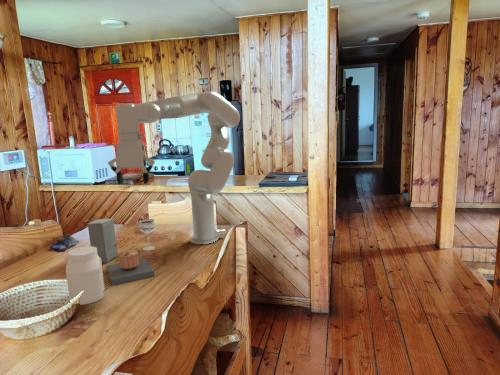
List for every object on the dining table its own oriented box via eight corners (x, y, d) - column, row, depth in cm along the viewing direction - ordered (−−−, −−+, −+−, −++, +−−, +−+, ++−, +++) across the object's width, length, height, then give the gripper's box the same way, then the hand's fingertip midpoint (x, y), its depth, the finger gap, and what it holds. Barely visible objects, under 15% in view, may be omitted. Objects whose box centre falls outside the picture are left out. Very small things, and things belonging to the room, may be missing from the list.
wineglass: (137, 250, 159) (134, 222, 157) (147, 244, 165) (145, 218, 163) (150, 251, 157) (148, 223, 154) (160, 246, 163) (158, 219, 160)
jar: (103, 301, 115) (97, 254, 112) (68, 307, 112) (62, 259, 109) (105, 285, 126) (100, 242, 123) (73, 290, 123) (68, 246, 120)
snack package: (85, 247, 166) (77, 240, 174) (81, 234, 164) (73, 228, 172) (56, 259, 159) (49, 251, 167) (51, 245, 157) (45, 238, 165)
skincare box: (107, 263, 145) (103, 223, 142) (90, 262, 147) (86, 223, 144) (119, 255, 153) (115, 217, 151) (103, 254, 155) (99, 217, 152)
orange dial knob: (124, 261, 138) (122, 248, 137) (141, 261, 138) (140, 248, 137) (117, 268, 132) (115, 255, 131) (135, 268, 132) (134, 254, 131)
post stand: (145, 262, 145) (144, 245, 143) (154, 276, 132) (153, 257, 131) (106, 270, 138) (104, 252, 137) (112, 285, 126) (110, 265, 125)
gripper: (155, 136, 143) (158, 181, 146) (110, 137, 144) (114, 182, 147) (149, 137, 136) (153, 184, 139) (101, 139, 136) (106, 185, 140)
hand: (133, 183), depth 143 cm, fingers open, 9 cm apart
